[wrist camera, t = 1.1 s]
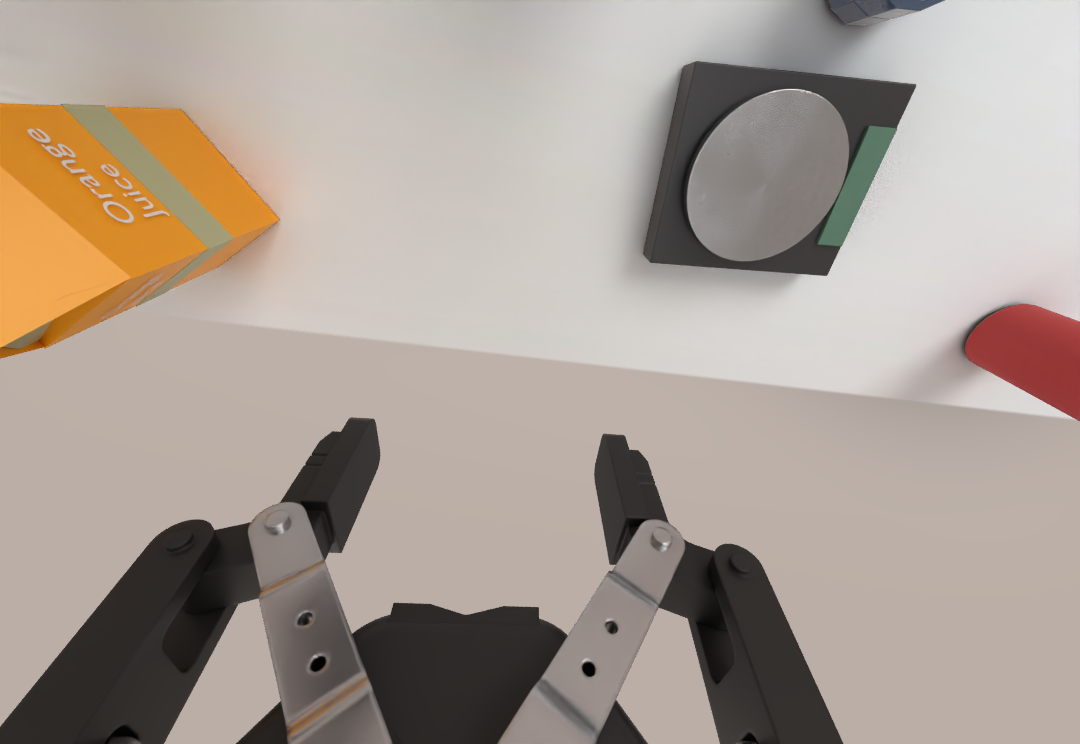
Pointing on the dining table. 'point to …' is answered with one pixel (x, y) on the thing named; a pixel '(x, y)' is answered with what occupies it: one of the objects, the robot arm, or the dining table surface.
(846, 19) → the cup
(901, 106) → the scale
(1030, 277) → the dining table surface
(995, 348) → the beer can
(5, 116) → the orange juice
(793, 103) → the platter
